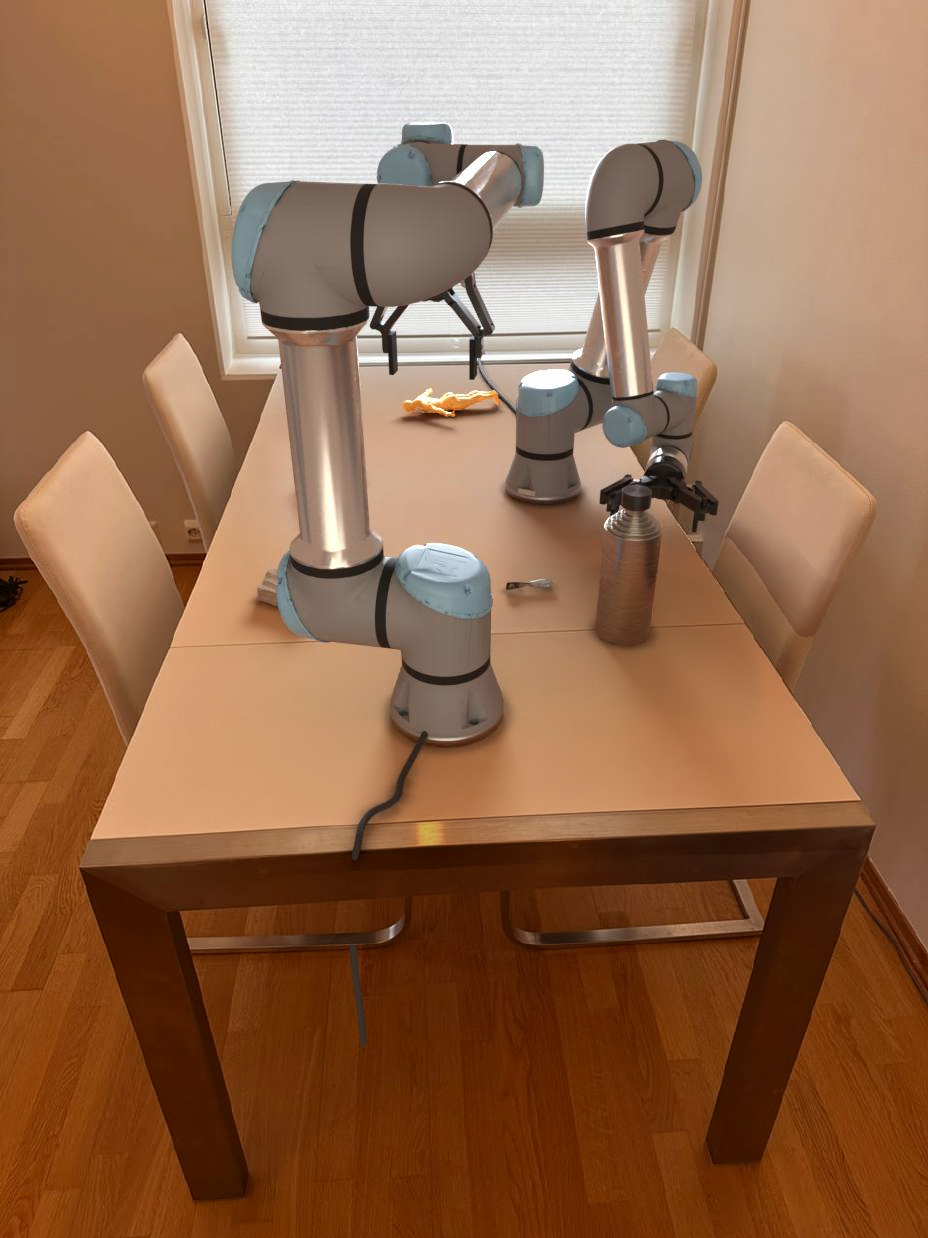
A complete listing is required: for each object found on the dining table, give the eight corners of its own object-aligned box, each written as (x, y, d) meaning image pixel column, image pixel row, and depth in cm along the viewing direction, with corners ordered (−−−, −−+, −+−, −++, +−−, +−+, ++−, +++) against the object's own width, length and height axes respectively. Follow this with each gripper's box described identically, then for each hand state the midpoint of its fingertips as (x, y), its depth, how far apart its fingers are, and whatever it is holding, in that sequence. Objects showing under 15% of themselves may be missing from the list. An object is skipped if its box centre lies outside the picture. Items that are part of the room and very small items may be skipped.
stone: (346, 586, 150) (345, 572, 148) (309, 621, 140) (307, 607, 139) (280, 572, 154) (279, 559, 153) (240, 606, 145) (238, 592, 143)
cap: (619, 509, 125) (621, 495, 124) (622, 498, 129) (623, 483, 128) (649, 512, 125) (651, 497, 123) (651, 500, 128) (652, 486, 127)
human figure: (395, 413, 223) (394, 398, 221) (438, 390, 237) (438, 375, 235) (462, 429, 215) (462, 413, 213) (502, 404, 229) (503, 388, 227)
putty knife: (553, 587, 149) (553, 578, 148) (506, 592, 148) (507, 584, 147) (551, 584, 150) (551, 575, 149) (505, 589, 149) (505, 581, 148)
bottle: (592, 642, 135) (604, 502, 123) (598, 614, 142) (610, 479, 130) (647, 649, 134) (665, 508, 121) (651, 620, 141) (668, 484, 128)
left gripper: (514, 235, 138) (511, 372, 149) (359, 231, 142) (367, 364, 153) (505, 244, 131) (503, 386, 143) (344, 238, 136) (354, 377, 147)
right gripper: (731, 498, 165) (727, 548, 148) (597, 486, 171) (577, 533, 154) (737, 460, 161) (733, 507, 144) (599, 449, 167) (579, 492, 150)
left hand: (433, 375), depth 148 cm, fingers open, 13 cm apart
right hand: (653, 520), depth 149 cm, fingers open, 13 cm apart
